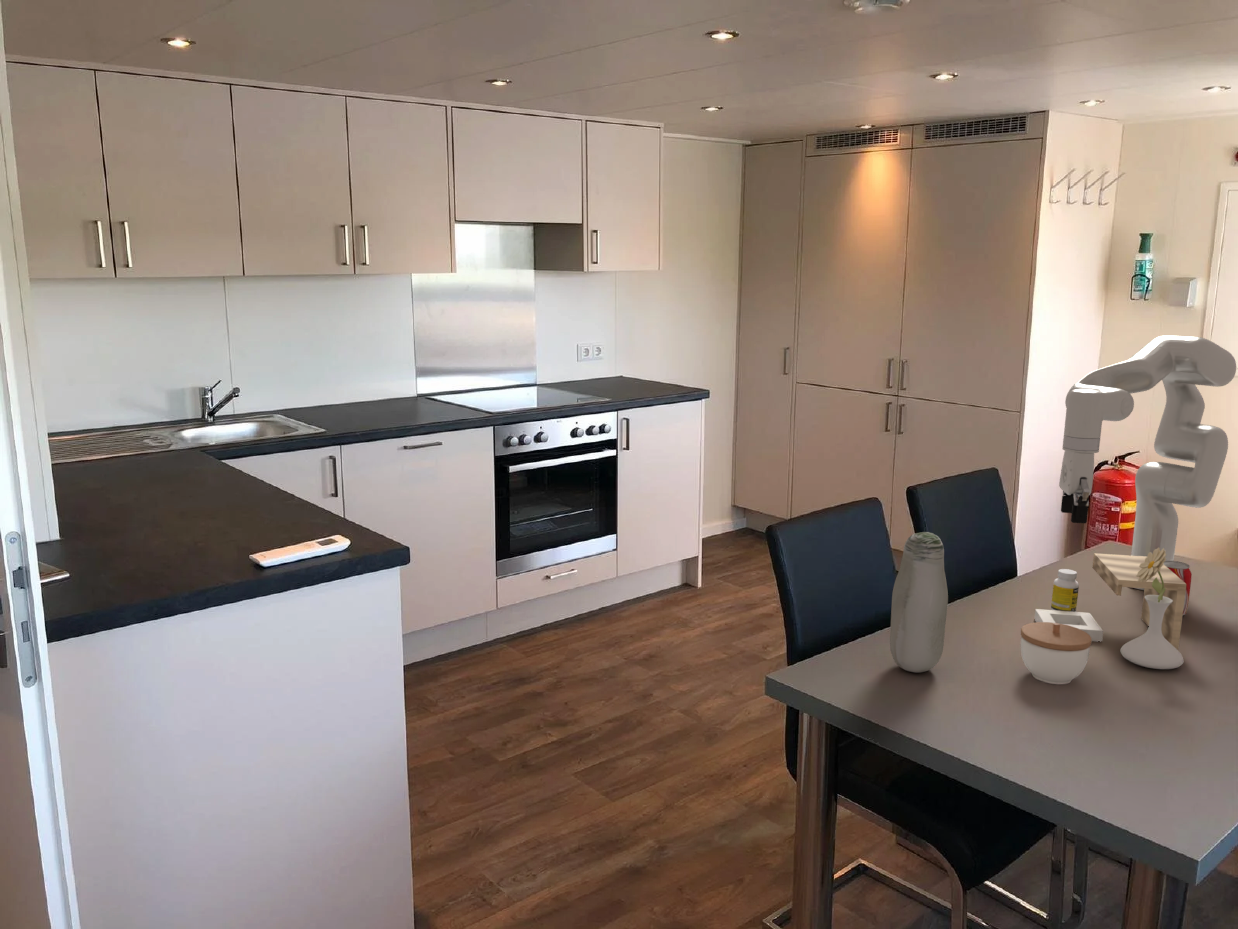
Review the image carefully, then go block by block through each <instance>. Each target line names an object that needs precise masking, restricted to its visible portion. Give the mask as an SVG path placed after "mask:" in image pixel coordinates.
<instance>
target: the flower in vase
mask: <svg viewBox="0 0 1238 929" xmlns="http://www.w3.org/2000/svg"><path fill="white" fill-rule="evenodd" d="M1165 553H1166V551H1164V548H1163V549H1162V550H1161V551H1160V548H1157V549H1155V550H1154V552H1153V555H1152V553H1151V552H1150V553H1148V555H1147V557H1146V558H1145V562H1144V563H1141V564H1140V566H1139V567H1140V568H1142V569H1141V570H1140V571H1138V574H1137V575H1136V577H1140V578H1139V579H1138V581H1141V582H1143V581H1145V582H1146V581H1147V580H1148V579H1149V580H1150V579H1151V578H1152V577H1153V576H1155V575H1156V573H1157V572H1158V574H1159V576H1160V579H1161V582H1162V585H1161V583H1160V582H1159V581H1158V579H1157V578H1155V579H1154V581H1153V582H1152V587H1153V588H1154V589H1155V590H1156V591H1157V592H1158V593H1159V595H1146V596H1145V597H1144V596H1143V598H1145V599H1146V601H1147V603H1148V606H1149V611H1150V621H1149V627H1148V626H1147V627H1148V628H1147V630H1146V631H1145V632H1144V633H1143V634H1141V635H1139V636H1137V637H1135V638H1133V639H1131V640H1129V641H1127V642H1126V643H1125V644H1123V645H1122V646H1121V648H1120V654H1121V655H1122V657H1123V658H1124V659H1125V660H1127V661H1129V662H1131V663H1133V664H1135V665H1137V666H1140V667H1145V668H1148V669H1154V670H1155V669H1156V670H1172V669H1177V668H1179V667H1180V666H1182V665H1183V664H1184V662H1185V661H1184V657H1183V654H1182V653H1181V652H1180V650H1179V649H1178V650H1177V649H1176V648H1175V647H1174V646H1173V645H1172V644H1170V643H1169V642H1168V641H1167V640H1166V639H1165V638H1164V636H1163V635H1162V630H1161V627H1162V620H1163V616H1164V613H1165V610H1166V609H1167V607H1168V606H1169V605H1170V604H1171V603H1172V602H1173V600H1172V599H1170V598H1168V597H1164V596H1163V593H1164V592H1165V590H1166V588H1164V582H1163V578H1162V576H1161V573H1160V570H1161V567H1162V566H1163V564H1164V562H1165V560H1166V558H1165V557H1166V554H1165Z"/></svg>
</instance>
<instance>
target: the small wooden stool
mask: <svg viewBox="0 0 1238 929" xmlns="http://www.w3.org/2000/svg"><path fill="white" fill-rule="evenodd" d="M1146 557H1147V556H1131V554H1130V555H1126V554H1114V553H1113V554H1111V553H1093V559H1092V566H1091V567H1092V569H1093V570H1094V572H1095V573H1096V574H1097V575H1098V576H1099V578H1101V580H1102V581H1103V582H1104V583H1105V584H1106V585H1107V586H1108V587H1109V588H1110V590H1112V591H1113V593H1114V595H1116V596H1119V597H1121V596H1122V590H1123V588H1134V589H1136V588H1145V589H1144V590H1143V600H1142V605H1141V606H1142V607H1141V616H1140V618H1141V620H1142V619H1143V620H1142V621H1143V622H1144V623H1145V624H1146V626H1147V627H1148V626H1149V621H1150V611H1149V606H1148V603H1147V601H1146V599H1145V598H1144V597H1145V596H1146V595H1159V593H1158V592H1157V591H1156V590H1155V589H1154V588H1153V587H1152V582H1153V581H1154V579H1155V578H1157V579H1158V581H1159V582H1160V583H1161V585H1162V582H1161V579H1160V576H1159V574H1158V572H1157V573H1156V575H1155V576H1153V577H1152V578H1151V579H1150V580H1149V579H1148V580H1147V581H1146V582H1145V581H1143V582H1141V581H1138V579H1139V578H1140V577H1136V575H1137V574H1138V571H1140V570H1141V569H1142V568H1140V567H1139V566H1140V564H1141V563H1144V562H1145V558H1146ZM1160 573H1161V576H1162V578H1163V582H1164V588H1166V590H1165V592H1164V593H1163V596H1164V597H1168V598H1170V599H1172V600H1173V602H1172V603H1171V604H1170V605H1169V606H1168V607H1167V609H1166V610H1165V613H1164V616H1163V620H1162V627H1161V630H1162V635H1163V636H1164V638H1165V639H1166V640H1167V641H1168V642H1169V643H1170V644H1172V645H1173V646H1174V647H1175V648H1176V649H1177V650H1178V651H1179V647H1180V646H1179V645H1180V638H1181V631H1182V622H1183V616H1184V615H1183V608H1184V600H1185V592H1186V583H1185V582H1183V581H1182V580H1181V579H1180V578H1179V577H1178V576H1177V575H1175V574H1174V573H1173V572H1172V571H1171V570H1170V569H1169V568H1167V567H1166V566H1165V565H1164V564H1163V566H1162V567H1161V570H1160Z"/></svg>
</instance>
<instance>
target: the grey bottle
mask: <svg viewBox="0 0 1238 929" xmlns="http://www.w3.org/2000/svg"><path fill="white" fill-rule="evenodd" d="M944 548H945V547H944V544H943V542H942V540H941V538H940V536H938V535H937V534H934V533H933V532H929V531H922V532H916V533H913V534H912V535H910V536H909V537H908V538H907V540H906V541H905V543H904V545H903V553H902V557H901V562H900V565H899V570H898V571H897V575H896V578H895V581H894V584H893V587H892V589H893V590H892V594H891V595H892V596H891V612H890V613H891V614H890V631H889V632H890V633H889V634H890V635H889V648H890V653H891V656H892V659H893V661H894V662H895V664H896V665H897V666H898V667H899V668H901V669H903V671H904V670H905V671H907V672H909V673H910V672H911V673H924V672H927V671H930V670H932V669H934V668H935V667H936V666H937V664H938V663H939V662H940V659H941V657H942V655H943V653H944V652H943V651H944V646H945V632H946V622H947V615H948V613H947V612H948V603H949V595H948V594H949V593H948V585H947V579H946V572H945V549H944Z"/></svg>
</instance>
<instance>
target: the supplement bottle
mask: <svg viewBox="0 0 1238 929" xmlns="http://www.w3.org/2000/svg"><path fill="white" fill-rule="evenodd" d="M1077 576H1078V573H1077V571H1076V570H1073V569H1069V568H1061V569H1058V571H1057V577H1058V578H1055V579H1053V585H1052V586H1053V587H1052V593H1051V594H1052V596H1051V604H1050V610H1057V611H1071V612H1077V606H1078V598H1079V597H1078V596H1079V589H1080V584H1079V582H1078V581H1077V580H1076V579H1077Z"/></svg>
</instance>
